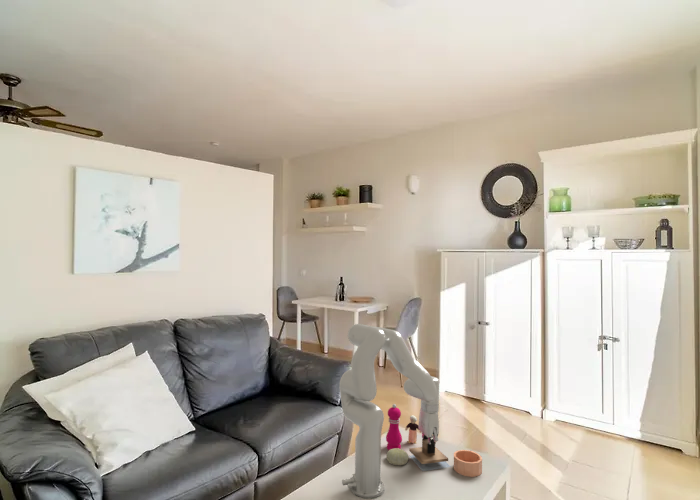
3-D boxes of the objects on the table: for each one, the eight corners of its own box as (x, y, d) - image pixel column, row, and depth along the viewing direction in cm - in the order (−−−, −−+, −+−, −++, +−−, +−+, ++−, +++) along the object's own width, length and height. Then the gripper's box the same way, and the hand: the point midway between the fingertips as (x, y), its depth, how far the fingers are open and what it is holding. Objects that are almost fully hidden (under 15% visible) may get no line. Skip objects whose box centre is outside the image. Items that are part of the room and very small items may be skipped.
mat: (422, 471, 161) (422, 471, 161) (408, 456, 174) (408, 455, 174) (451, 467, 165) (451, 466, 165) (435, 452, 178) (435, 452, 178)
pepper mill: (389, 453, 176) (389, 407, 177) (383, 446, 183) (384, 402, 184) (404, 451, 178) (404, 406, 179) (398, 444, 185) (398, 400, 186)
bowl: (463, 478, 156) (463, 464, 157) (448, 465, 167) (448, 451, 167) (487, 475, 160) (487, 461, 160) (471, 461, 170) (471, 448, 170)
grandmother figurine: (404, 444, 186) (405, 416, 186) (404, 440, 189) (405, 413, 190) (421, 445, 184) (421, 417, 185) (421, 441, 188) (421, 414, 189)
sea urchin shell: (405, 465, 163) (393, 447, 166) (392, 475, 165) (380, 458, 168) (413, 455, 171) (401, 439, 174) (401, 465, 173) (389, 449, 176)
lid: (421, 464, 162) (422, 448, 162) (409, 450, 173) (409, 436, 173) (448, 461, 165) (448, 446, 165) (434, 448, 176) (434, 434, 177)
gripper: (413, 400, 177) (411, 442, 176) (431, 414, 161) (429, 460, 160) (428, 399, 179) (427, 441, 178) (447, 413, 163) (446, 459, 162)
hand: (428, 450), depth 169 cm, fingers closed on lid, 4 cm apart
